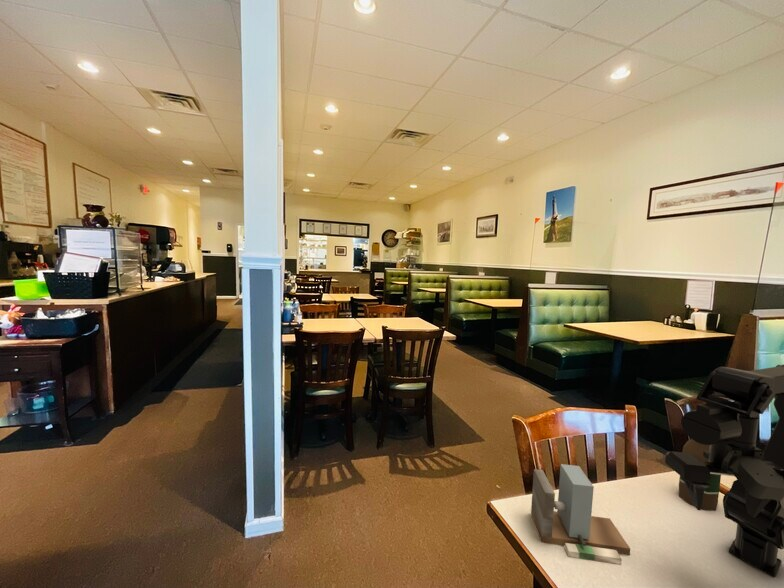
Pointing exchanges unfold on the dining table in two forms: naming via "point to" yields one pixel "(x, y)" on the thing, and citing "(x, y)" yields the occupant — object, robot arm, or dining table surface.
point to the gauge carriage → (575, 502)
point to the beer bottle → (710, 492)
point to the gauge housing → (551, 530)
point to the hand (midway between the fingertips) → (723, 512)
